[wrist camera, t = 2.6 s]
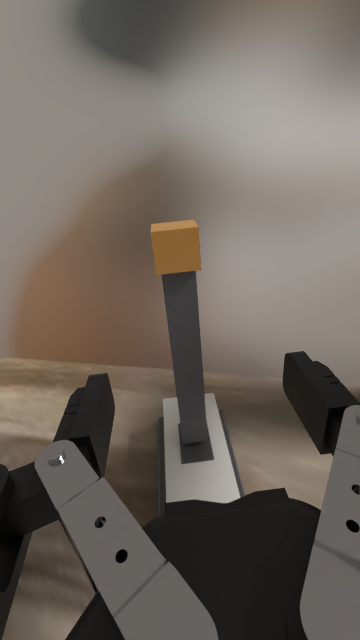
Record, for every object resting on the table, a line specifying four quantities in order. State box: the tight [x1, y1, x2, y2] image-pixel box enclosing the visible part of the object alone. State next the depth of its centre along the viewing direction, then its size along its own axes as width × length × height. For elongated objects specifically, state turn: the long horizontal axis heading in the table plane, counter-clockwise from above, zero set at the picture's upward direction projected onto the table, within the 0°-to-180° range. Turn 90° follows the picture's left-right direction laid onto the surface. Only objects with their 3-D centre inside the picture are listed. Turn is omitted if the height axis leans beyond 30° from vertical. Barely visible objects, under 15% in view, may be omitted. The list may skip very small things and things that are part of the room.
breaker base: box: [158, 393, 245, 516], centre depth 33 cm, size 18×9×6 cm, turn 4°
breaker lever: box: [151, 220, 208, 444], centre depth 26 cm, size 3×3×21 cm
